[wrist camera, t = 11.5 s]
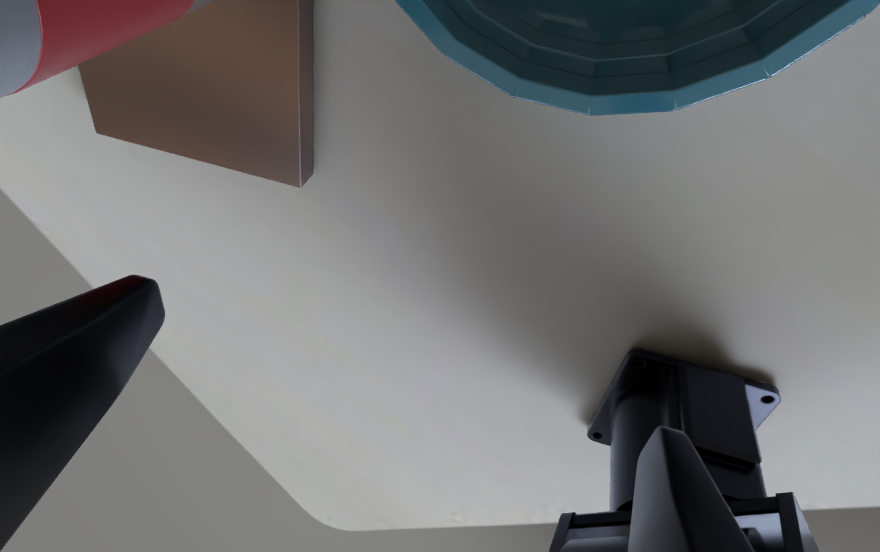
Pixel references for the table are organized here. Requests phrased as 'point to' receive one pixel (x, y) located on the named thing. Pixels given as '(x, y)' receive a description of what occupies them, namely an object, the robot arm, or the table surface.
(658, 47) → the dish
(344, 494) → the table surface
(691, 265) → the table surface
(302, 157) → the board
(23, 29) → the can
